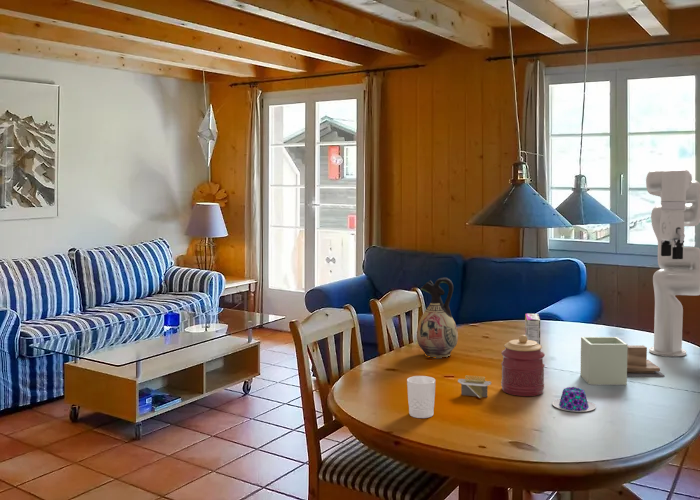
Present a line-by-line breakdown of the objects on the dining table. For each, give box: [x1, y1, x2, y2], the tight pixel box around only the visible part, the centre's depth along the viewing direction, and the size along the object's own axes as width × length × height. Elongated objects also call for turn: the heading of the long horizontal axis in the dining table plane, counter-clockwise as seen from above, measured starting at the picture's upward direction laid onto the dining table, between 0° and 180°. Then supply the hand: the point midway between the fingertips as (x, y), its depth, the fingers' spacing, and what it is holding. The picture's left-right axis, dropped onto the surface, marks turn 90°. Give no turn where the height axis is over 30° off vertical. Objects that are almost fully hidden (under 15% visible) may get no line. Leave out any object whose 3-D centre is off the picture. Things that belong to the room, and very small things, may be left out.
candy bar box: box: [524, 313, 541, 345], centre depth 249 cm, size 11×5×16 cm, turn 168°
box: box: [579, 336, 628, 386], centre depth 224 cm, size 11×12×13 cm
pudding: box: [551, 386, 597, 413], centre depth 199 cm, size 12×12×5 cm
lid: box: [627, 344, 661, 373], centre depth 234 cm, size 11×12×8 cm
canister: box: [500, 334, 546, 397], centre depth 214 cm, size 13×13×18 cm
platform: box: [457, 375, 492, 399], centre depth 209 cm, size 12×18×7 cm, turn 69°
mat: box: [627, 371, 665, 378], centre depth 235 cm, size 14×14×1 cm
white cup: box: [406, 375, 436, 419], centre depth 194 cm, size 8×8×10 cm
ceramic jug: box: [416, 277, 459, 359], centre depth 258 cm, size 17×15×30 cm
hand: (671, 257), depth 233 cm, fingers open, 9 cm apart
